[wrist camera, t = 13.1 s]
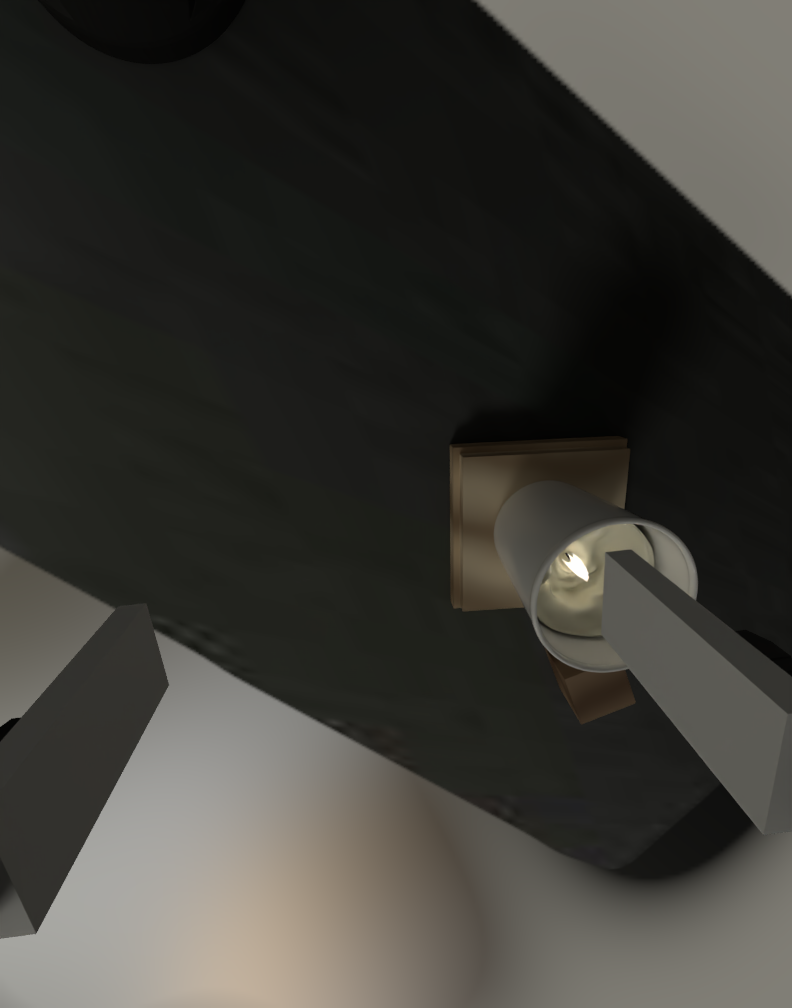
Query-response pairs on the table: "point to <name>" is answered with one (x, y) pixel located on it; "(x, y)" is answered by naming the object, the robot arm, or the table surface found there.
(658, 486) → the table surface
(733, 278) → the table surface
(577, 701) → the walnut block
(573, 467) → the stand
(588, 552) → the candle holder
